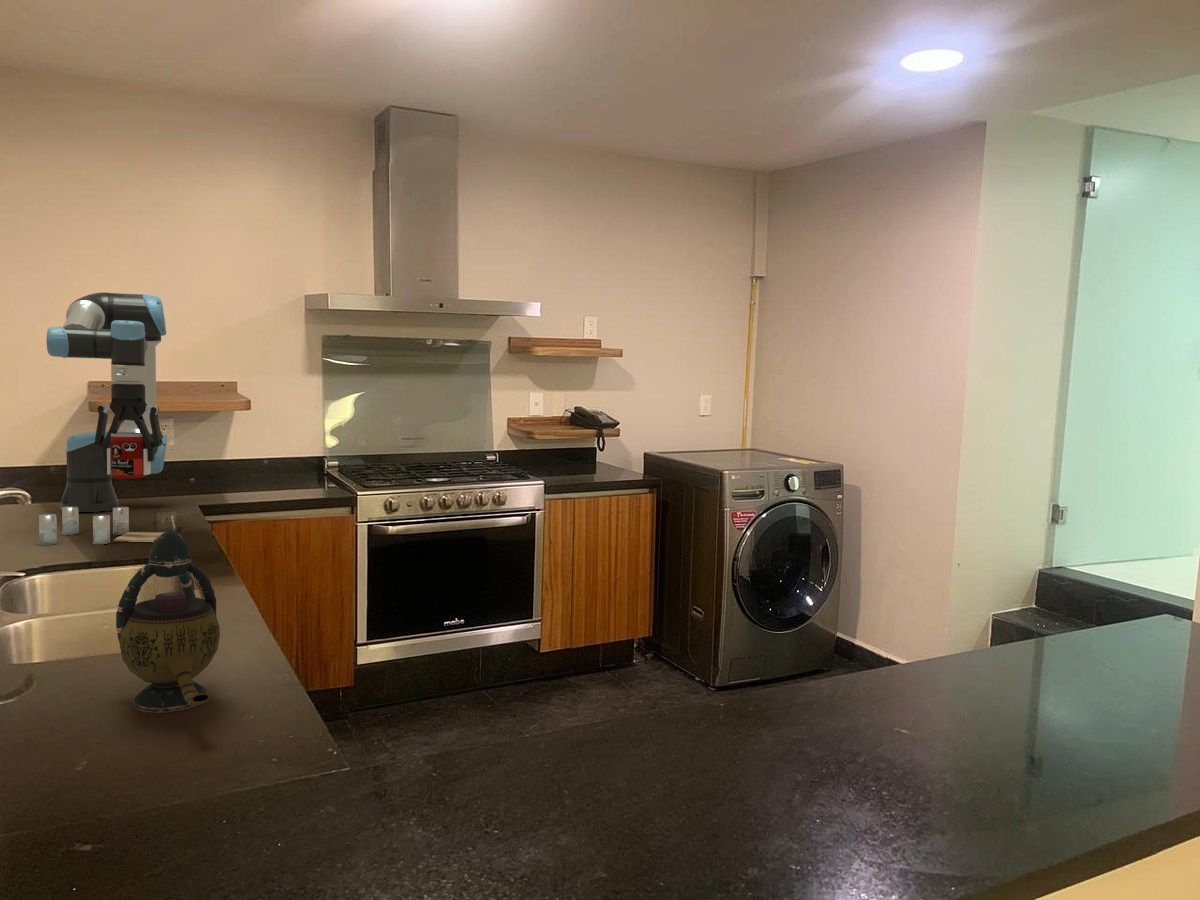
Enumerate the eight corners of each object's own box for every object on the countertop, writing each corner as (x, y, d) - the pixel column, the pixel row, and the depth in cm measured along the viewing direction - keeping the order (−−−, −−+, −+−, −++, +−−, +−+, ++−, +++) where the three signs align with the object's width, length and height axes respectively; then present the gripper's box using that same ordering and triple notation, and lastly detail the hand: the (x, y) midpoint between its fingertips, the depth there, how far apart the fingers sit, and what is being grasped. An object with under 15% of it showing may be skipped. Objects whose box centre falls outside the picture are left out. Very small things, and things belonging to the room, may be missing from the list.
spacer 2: (66, 532, 230) (65, 506, 229) (81, 533, 230) (80, 506, 230) (60, 535, 226) (59, 508, 226) (75, 535, 227) (75, 508, 226)
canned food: (103, 477, 221) (103, 433, 220) (129, 474, 228) (129, 431, 228) (128, 479, 218) (127, 434, 218) (153, 476, 226) (153, 433, 225)
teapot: (202, 672, 130) (201, 514, 128) (253, 730, 110) (254, 544, 108) (108, 688, 122) (106, 520, 120) (145, 752, 102) (144, 553, 101)
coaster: (127, 535, 230) (127, 532, 230) (165, 535, 231) (165, 532, 231) (113, 542, 220) (113, 539, 220) (152, 542, 221) (152, 539, 221)
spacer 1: (43, 542, 217) (43, 514, 216) (59, 542, 218) (59, 514, 217) (36, 545, 213) (36, 516, 213) (53, 545, 214) (52, 516, 213)
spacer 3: (96, 542, 219) (96, 514, 218) (112, 542, 220) (112, 514, 219) (90, 545, 215) (90, 516, 215) (106, 545, 216) (106, 516, 216)
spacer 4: (116, 533, 232) (115, 506, 231) (130, 533, 232) (130, 506, 232) (110, 535, 228) (110, 508, 228) (126, 535, 229) (125, 508, 228)
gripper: (77, 381, 216) (78, 475, 218) (167, 384, 220) (167, 476, 221) (90, 381, 224) (91, 471, 226) (177, 384, 227) (177, 473, 229)
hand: (129, 474), depth 223 cm, fingers closed on canned food, 8 cm apart
